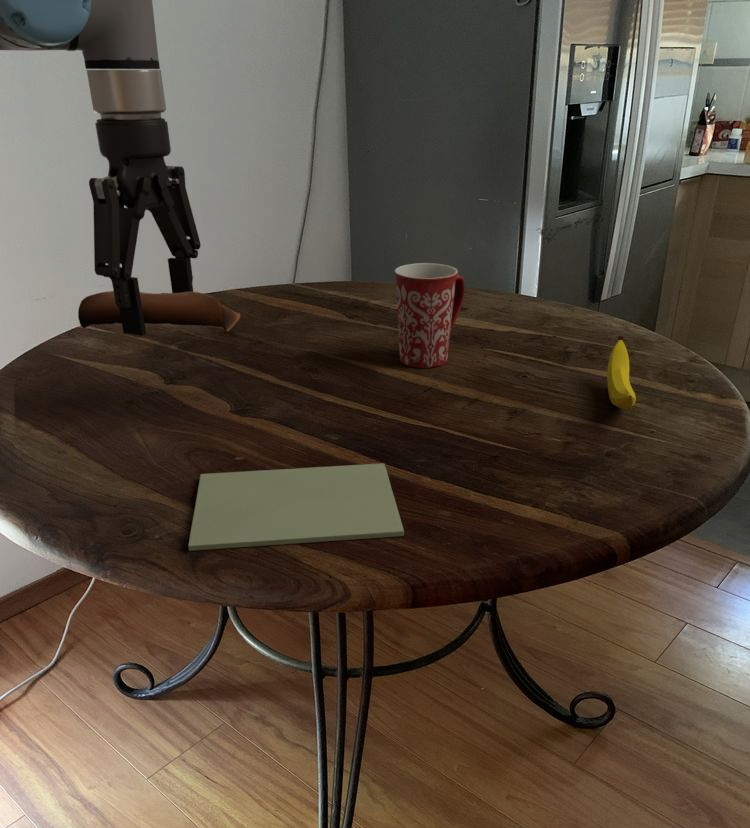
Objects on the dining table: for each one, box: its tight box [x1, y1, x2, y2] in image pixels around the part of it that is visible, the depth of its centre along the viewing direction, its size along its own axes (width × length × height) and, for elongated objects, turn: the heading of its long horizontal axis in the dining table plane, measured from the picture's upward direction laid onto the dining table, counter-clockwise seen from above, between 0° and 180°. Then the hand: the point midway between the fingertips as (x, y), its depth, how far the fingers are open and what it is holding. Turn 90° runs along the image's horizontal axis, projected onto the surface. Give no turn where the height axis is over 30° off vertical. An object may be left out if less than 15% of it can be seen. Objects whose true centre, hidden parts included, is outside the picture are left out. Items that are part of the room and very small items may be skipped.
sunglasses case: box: [77, 290, 242, 333], centre depth 89 cm, size 18×7×7 cm, turn 84°
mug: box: [393, 262, 466, 369], centre depth 109 cm, size 13×9×14 cm
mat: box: [187, 462, 405, 552], centre depth 74 cm, size 20×14×1 cm
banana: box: [606, 335, 637, 410], centre depth 95 cm, size 3×19×6 cm, turn 168°
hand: (161, 321), depth 90 cm, fingers closed on sunglasses case, 9 cm apart
